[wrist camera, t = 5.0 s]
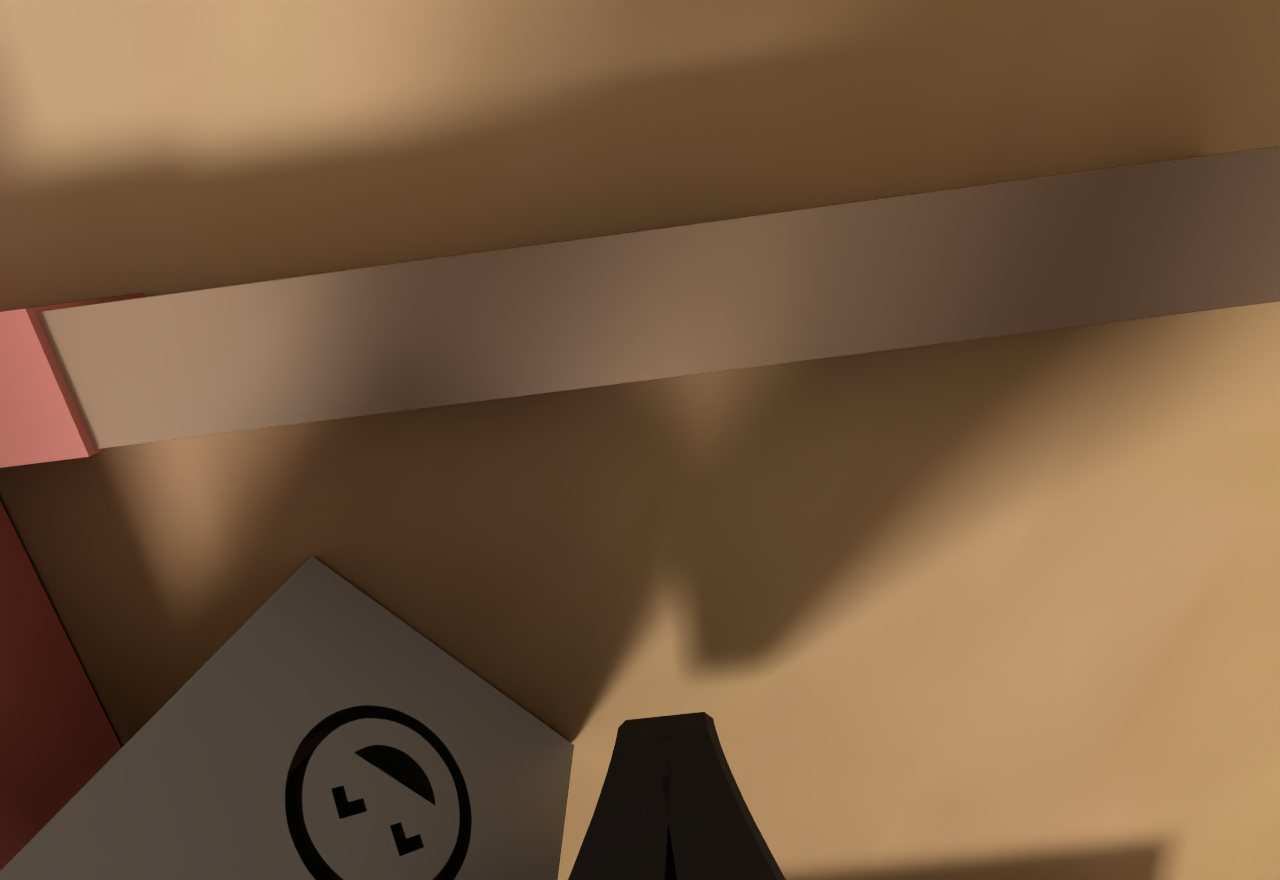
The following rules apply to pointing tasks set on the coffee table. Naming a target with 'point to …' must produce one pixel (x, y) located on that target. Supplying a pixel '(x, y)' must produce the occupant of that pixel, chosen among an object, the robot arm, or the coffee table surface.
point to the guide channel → (580, 347)
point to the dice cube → (320, 764)
